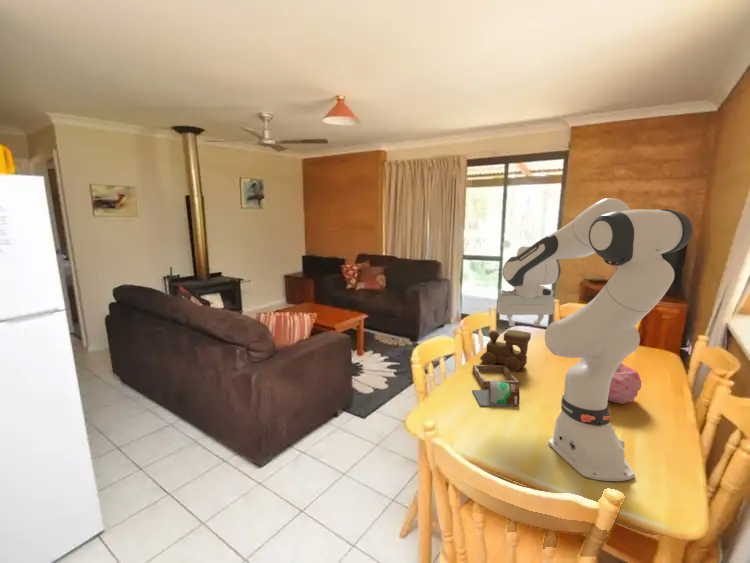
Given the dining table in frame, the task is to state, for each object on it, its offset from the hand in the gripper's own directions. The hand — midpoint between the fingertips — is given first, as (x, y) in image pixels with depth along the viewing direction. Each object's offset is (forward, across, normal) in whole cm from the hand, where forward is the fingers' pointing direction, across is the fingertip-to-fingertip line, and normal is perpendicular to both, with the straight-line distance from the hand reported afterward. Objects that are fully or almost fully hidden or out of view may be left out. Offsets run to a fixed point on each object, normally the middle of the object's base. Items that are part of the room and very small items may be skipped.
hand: (524, 325), depth 135 cm
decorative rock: (+28, +33, -6) cm, 43 cm away
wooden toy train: (+28, +4, +28) cm, 40 cm away
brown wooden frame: (+27, -5, +13) cm, 31 cm away
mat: (+27, -12, -3) cm, 30 cm away
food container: (+24, -3, -5) cm, 24 cm away
